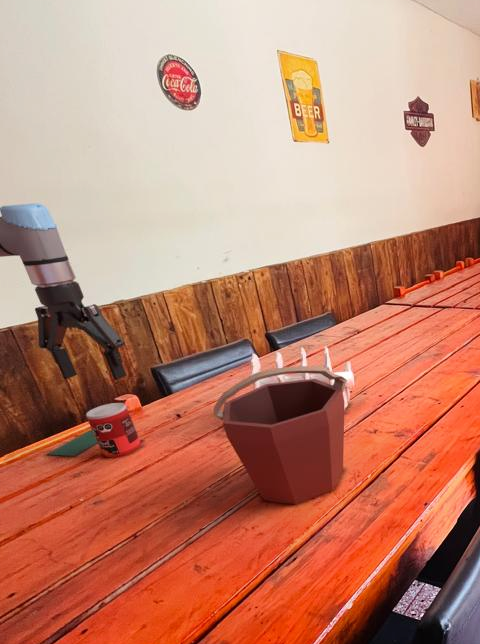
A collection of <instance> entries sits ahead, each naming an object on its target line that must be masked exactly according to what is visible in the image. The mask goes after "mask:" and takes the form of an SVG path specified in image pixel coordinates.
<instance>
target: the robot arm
mask: <svg viewBox="0 0 480 644" xmlns="http://www.w3.org/2000/svg"><path fill="white" fill-rule="evenodd" d="M0 215H1V216H0V258H2V257H19V259H21V262H22V265H23V267H24V269H25V271H26V274H27V276H28V279H29V280H30V283H31V285H34V286H35V288H34V292H35V293H36V296H37V298H38V300H39V303H40V304H41V306H37V307H35V308H34V311H35V314H36V317H37V333H38V335H37V336H38V347H39V348H40V349H42V350H43V349H46V350H47V352H50V354H51V356H52V358H53V360H54V362H55V364H56V365H57V366H58V370H59V371H60V374H61V375H62V377H63V379H64V380H69V379H71V378H73V377H76V376H78V373H77V371H76V369H75V366H74V364H73V362H72V360H71V357H70V355H69V353H68V350H67V348H66V347H65V345H64V344H63V343H64V340H65V336H66V333H67V329H69V328H72V329H78V330H80V331H83V332H84V333H85V334H86V335H87V336H88V337H90V338H91V339H92V340H93V341H95V342H96V344H97V345H99V346H100V347H102V349H104V350H103V352H102V354H103V356H104V358H105V361H106V363H107V366H108V368H109V370H110V373H111V375H112V378H113V380H114V381H118V380H120V379H122V378H125V377H126V376H127V372H126V370H125V367H124V365H123V362H124V361H123V358H122V355H121V352H120V350H119V348H122V347H124V346H125V345H126V342H125V341H124V340H123V339H122V338H121V335H119V333H118V332H117V331H116V330H115V329H114V328H113V326H112V325H111V323H110V322H109V321H107V319H106V318H105V317H104V316H103V314H102V312H101V310H100V308H99V306H98V305H97V304H96V303H95V304H91V305H88V306H87V305H86V306H85V305H84V304H83V299H84V298H85V297H84V294H83V291H82V288H81V286H80V283H79V282H77V281H76V278H77V277H76V274H75V272H74V269H73V266H72V265H71V262H70V260H69V257H68V255H67V252H66V249H65V247H64V245H63V241H62V239H61V236H60V233H59V231H58V228H57V227H58V226H57V224H56V223H55V221H54V219H53V217H52V215H51V213H50V211H49V209H48V207H47V206H46V205H44V204H43V203H38V202H37V203H25V204H23V203H22V204H11V205H2V206H1V207H0Z"/></svg>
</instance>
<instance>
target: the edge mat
mask: <svg viewBox="0 0 480 644" xmlns="http://www.w3.org/2000/svg"><path fill="white" fill-rule="evenodd" d="M97 444H98V442H97V440H96V437H95V435H94V433H93V431H92V429H90V430H89V431H87V432H85V433H83V434H82V435H79V436H78V437H76V438H73V439H72V440H70V441H68V442H67V443H65V444H63V445H61V446H60V447H58V448H56V449H54V450H52V451H50V452H49V453H47V456H60V457H61V456H63V457H76V456H78V455H80V454H81V453H83V452H84V451H86V450H88V449H90V448H92V447H93V446H95V445H97Z"/></svg>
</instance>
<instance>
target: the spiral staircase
mask: <svg viewBox="0 0 480 644" xmlns="http://www.w3.org/2000/svg"><path fill="white" fill-rule="evenodd" d="M329 351H330V350H329V348H328V346H327V345H324V358H323V359H324V360H323V361H324V362H323V365H322V366H323V367H324V368H326V369H327V370H329V371H330V372H332V373H335V374H337V375H340V376H342V377H343V378H345V379H346V380H347V382H346V385H345V388H344V391H343V397H344V402H345V405H344V412H346V408H348V405H349V404H348V403H350V402H351V401H350V397H351V396H350V395H351V393H350V391H352V387H355V379H354V377H355V376H354V372H353V371H352V363H351V361H346V364H344V368H345V369H344V371H338V372H333V368H332V364H331V359H330V352H329ZM251 356H252V357H251V358H252V359H250V367H251V375H253V374H255V373H258V372H261V368H262V367H261V366H262V364H261V362H260V360H259V358H260V357H258V355H257V354H256V353H255V352H254V353H253V352H252V354H251ZM275 357H276V358H275V361H274V362H275V367H276V368H283V367H284V361H283V360H284V359H283V356H282V354H281V352H279V351H276V352H275ZM300 360H301V361H300V366H308V362H307V353H306V351H305V348H304V347H300ZM276 368H275V369H276ZM308 379H317V380H319V381H322V382H325V383H327V384H330V385H333V384H334V379H333V380H330V379H328V378H327V377H325V376H324V375H322V374H318V373H297V375H295V374H294V375H286V374H282V375H277V376H272V377H268V378H264V379H260V380H258V381H256V382H254V383H252V384H253V385H252V387H253V390H254V389H257V388H259V387H261V386H263V385H265V384H273V383H281V382H290V381H299V380H308Z"/></svg>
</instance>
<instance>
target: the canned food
mask: <svg viewBox="0 0 480 644" xmlns="http://www.w3.org/2000/svg"><path fill="white" fill-rule="evenodd" d="M85 416H86V420H87V422H88V424H89V427H90V430H92V431H93V433H94V435H95V437H96V440H97V442H98V443H97V444H98V446H99V448H100V450H101V453H102V454H103V455H104V456H105V457H107V458H118V457H122V456H126V455H129V454H131V453H133V452H135V451H136V450H138V449H139V448H140V446H141V440H140V437H139V435H138V432H137V429H136V427H135V425H134V422H133V419H132V417H131V414H130V412H129V410H128V406H126V404H125V403H123V402H112V403H107V404H103V405H99V406H97V407H94V408H92V409H90V410H89V411H87V412H86V414H85Z"/></svg>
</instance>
